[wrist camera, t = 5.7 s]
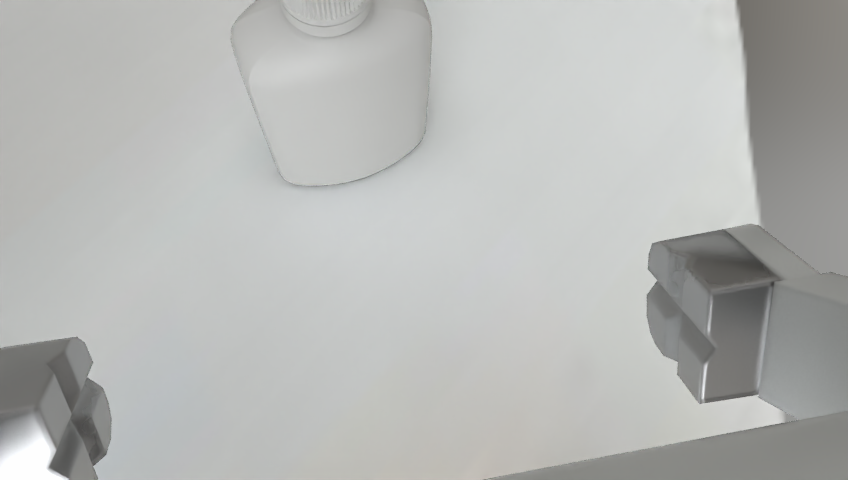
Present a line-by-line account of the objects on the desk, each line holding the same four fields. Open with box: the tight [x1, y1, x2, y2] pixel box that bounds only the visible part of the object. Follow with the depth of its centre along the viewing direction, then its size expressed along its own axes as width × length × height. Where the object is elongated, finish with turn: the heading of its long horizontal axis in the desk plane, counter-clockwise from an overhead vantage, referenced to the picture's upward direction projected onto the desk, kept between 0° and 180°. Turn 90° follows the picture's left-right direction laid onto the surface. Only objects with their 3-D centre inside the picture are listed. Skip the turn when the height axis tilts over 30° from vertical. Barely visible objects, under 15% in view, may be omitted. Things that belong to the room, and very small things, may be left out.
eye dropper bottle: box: [231, 0, 432, 186], centre depth 22 cm, size 4×6×12 cm
